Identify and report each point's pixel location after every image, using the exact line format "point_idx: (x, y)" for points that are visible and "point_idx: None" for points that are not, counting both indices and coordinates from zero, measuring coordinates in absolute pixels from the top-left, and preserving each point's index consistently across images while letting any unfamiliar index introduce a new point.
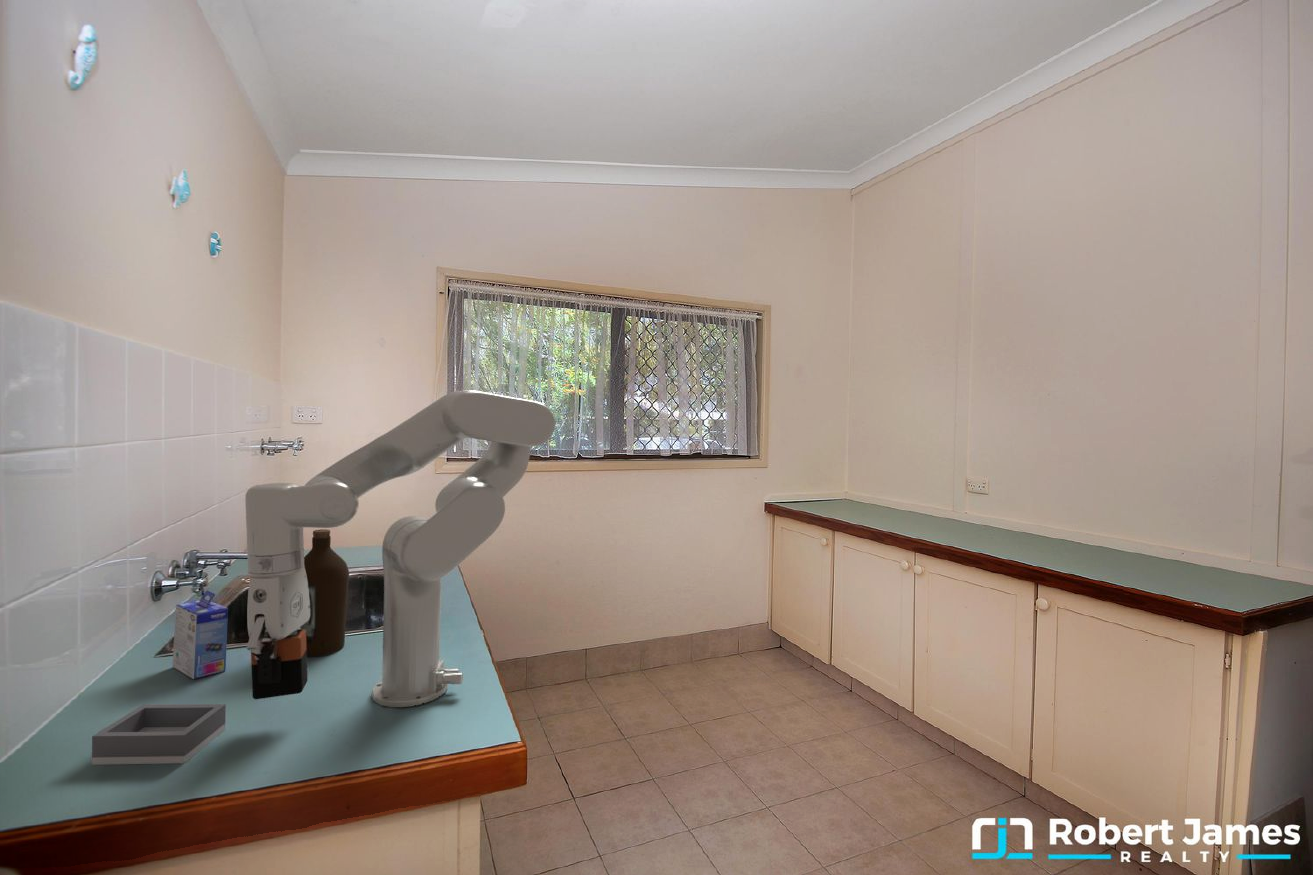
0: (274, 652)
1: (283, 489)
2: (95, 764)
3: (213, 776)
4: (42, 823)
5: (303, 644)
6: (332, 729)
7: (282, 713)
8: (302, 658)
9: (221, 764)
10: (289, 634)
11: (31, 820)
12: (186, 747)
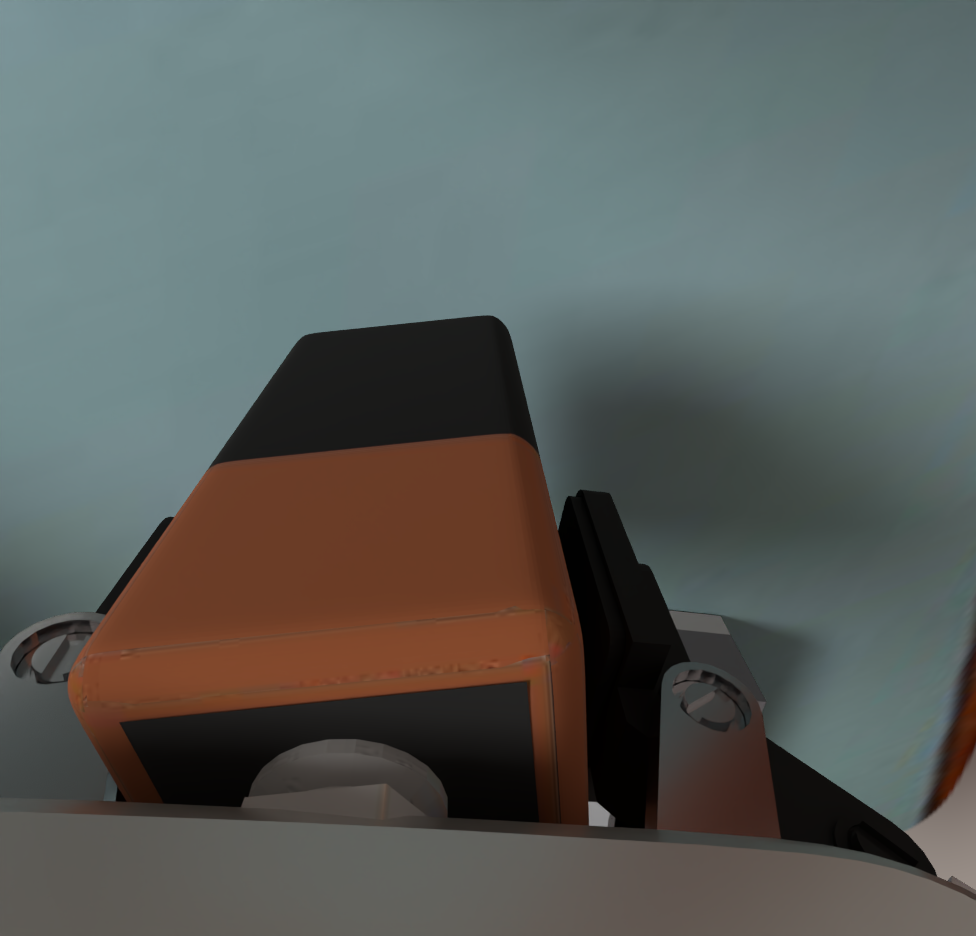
0: (754, 738)
1: None
2: None
3: (870, 484)
4: (931, 786)
5: (363, 515)
6: (578, 45)
7: None
8: (457, 424)
9: (781, 491)
10: (718, 841)
11: (901, 811)
12: (730, 654)
